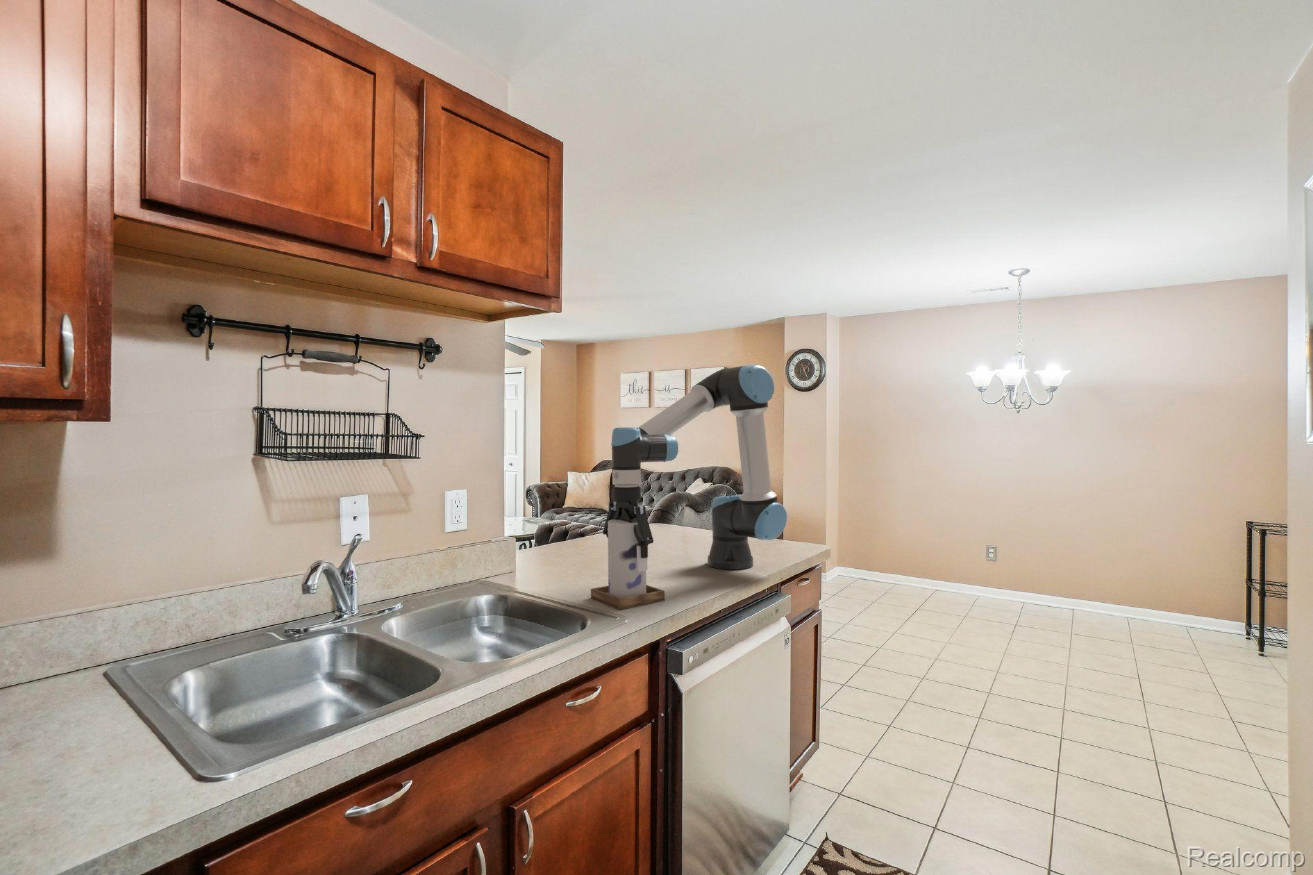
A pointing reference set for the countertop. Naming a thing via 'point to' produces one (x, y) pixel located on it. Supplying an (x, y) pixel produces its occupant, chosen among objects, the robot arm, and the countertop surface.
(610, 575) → the container
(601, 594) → the stand
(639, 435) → the robot arm
